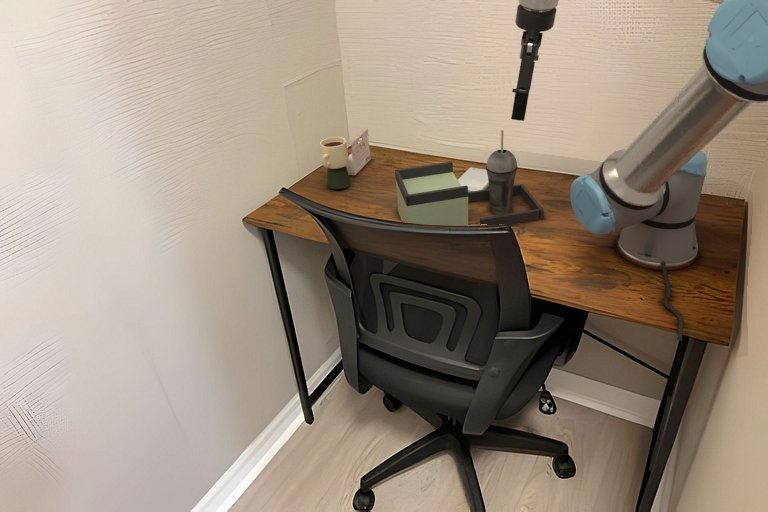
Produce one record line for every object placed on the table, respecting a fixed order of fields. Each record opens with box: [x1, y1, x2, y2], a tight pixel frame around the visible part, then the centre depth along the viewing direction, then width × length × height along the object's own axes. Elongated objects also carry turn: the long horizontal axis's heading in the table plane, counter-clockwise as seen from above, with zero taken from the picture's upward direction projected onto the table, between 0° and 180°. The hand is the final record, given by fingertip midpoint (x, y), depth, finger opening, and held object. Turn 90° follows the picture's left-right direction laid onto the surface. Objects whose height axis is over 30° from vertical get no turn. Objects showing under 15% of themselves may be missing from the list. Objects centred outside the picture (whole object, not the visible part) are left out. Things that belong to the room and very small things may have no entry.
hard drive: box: [457, 166, 489, 192], centre depth 155 cm, size 2×8×12 cm
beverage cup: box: [485, 129, 519, 216], centre depth 138 cm, size 7×7×20 cm
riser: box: [394, 161, 545, 226], centre depth 140 cm, size 14×32×12 cm, turn 99°
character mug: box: [319, 136, 351, 190], centre depth 158 cm, size 11×7×13 cm, turn 152°
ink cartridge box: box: [346, 128, 372, 176], centre depth 168 cm, size 2×11×10 cm, turn 157°
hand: (520, 103), depth 130 cm, fingers open, 13 cm apart
